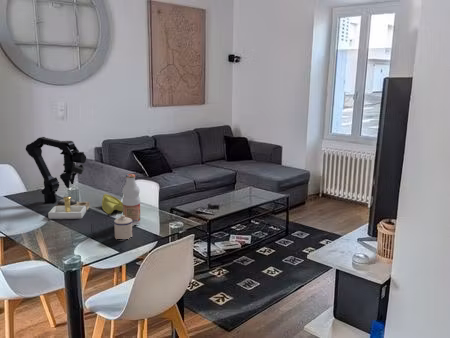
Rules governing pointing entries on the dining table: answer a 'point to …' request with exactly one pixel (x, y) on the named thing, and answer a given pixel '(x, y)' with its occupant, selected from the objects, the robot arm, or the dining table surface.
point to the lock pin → (67, 203)
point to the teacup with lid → (123, 227)
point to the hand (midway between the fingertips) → (70, 186)
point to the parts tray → (60, 213)
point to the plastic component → (111, 204)
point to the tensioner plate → (74, 203)
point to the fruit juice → (131, 200)
